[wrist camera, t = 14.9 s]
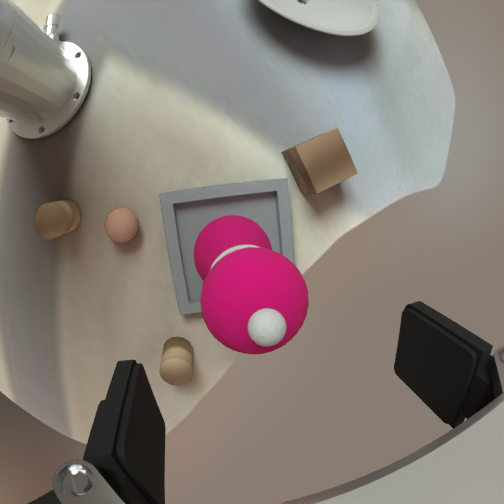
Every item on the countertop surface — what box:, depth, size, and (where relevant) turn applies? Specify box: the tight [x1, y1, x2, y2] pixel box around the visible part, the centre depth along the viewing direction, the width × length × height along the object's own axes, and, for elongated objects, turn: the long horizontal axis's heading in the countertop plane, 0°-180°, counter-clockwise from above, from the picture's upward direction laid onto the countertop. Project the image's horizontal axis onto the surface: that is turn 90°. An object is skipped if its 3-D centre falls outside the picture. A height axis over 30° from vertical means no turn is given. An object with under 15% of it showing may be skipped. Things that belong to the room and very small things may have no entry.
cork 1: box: [35, 200, 82, 239], centre depth 26 cm, size 4×4×5 cm
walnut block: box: [282, 128, 358, 194], centre depth 30 cm, size 5×5×5 cm
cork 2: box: [160, 337, 193, 385], centre depth 32 cm, size 4×4×5 cm
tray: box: [160, 178, 295, 315], centre depth 32 cm, size 13×13×2 cm
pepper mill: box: [194, 215, 309, 354], centre depth 22 cm, size 7×7×20 cm
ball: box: [105, 207, 138, 243], centre depth 28 cm, size 4×4×4 cm
